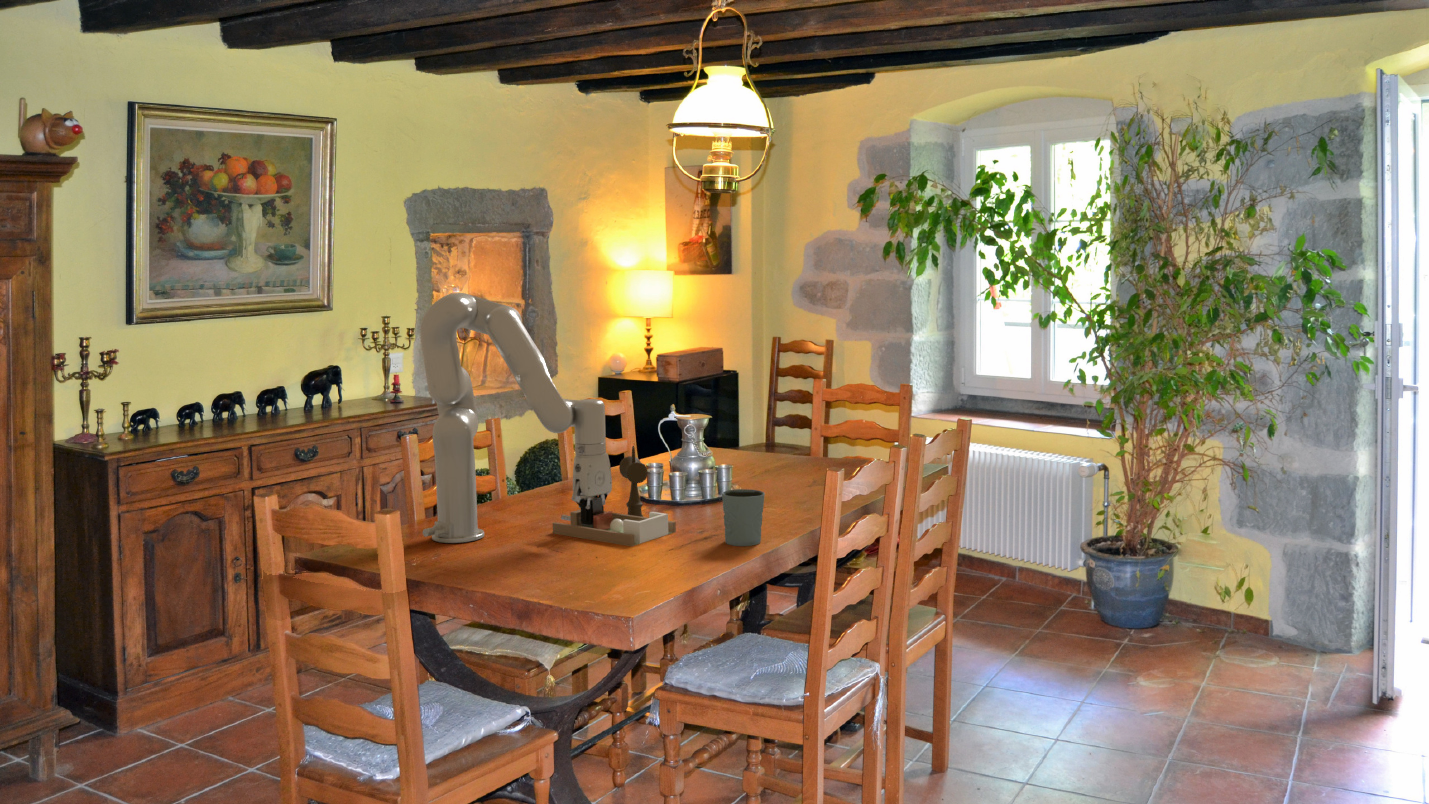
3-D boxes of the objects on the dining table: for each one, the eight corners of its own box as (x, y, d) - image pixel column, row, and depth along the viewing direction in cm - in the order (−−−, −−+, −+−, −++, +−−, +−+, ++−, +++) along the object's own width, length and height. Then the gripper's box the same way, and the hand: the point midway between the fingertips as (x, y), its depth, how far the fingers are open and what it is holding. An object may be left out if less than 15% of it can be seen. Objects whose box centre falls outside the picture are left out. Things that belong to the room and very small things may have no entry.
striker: (596, 532, 280) (596, 502, 280) (554, 525, 288) (553, 496, 288) (612, 527, 285) (612, 498, 284) (570, 520, 293) (570, 492, 292)
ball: (618, 535, 278) (617, 521, 278) (607, 533, 280) (606, 519, 280) (627, 532, 281) (627, 518, 281) (616, 530, 283) (616, 516, 283)
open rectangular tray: (632, 551, 267) (631, 525, 267) (553, 537, 282) (552, 512, 281) (675, 536, 281) (675, 511, 280) (598, 524, 295) (597, 500, 295)
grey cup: (714, 543, 274) (713, 493, 273) (739, 534, 282) (738, 486, 281) (748, 549, 268) (747, 498, 267) (773, 540, 276) (772, 491, 274)
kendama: (642, 517, 304) (640, 442, 301) (650, 524, 294) (648, 447, 292) (619, 518, 302) (618, 443, 300) (627, 526, 293) (625, 449, 290)
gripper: (579, 455, 274) (581, 530, 276) (623, 446, 287) (625, 517, 290) (556, 452, 278) (558, 527, 280) (601, 443, 292) (602, 514, 294)
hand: (592, 521), depth 285 cm, fingers closed on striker, 3 cm apart
